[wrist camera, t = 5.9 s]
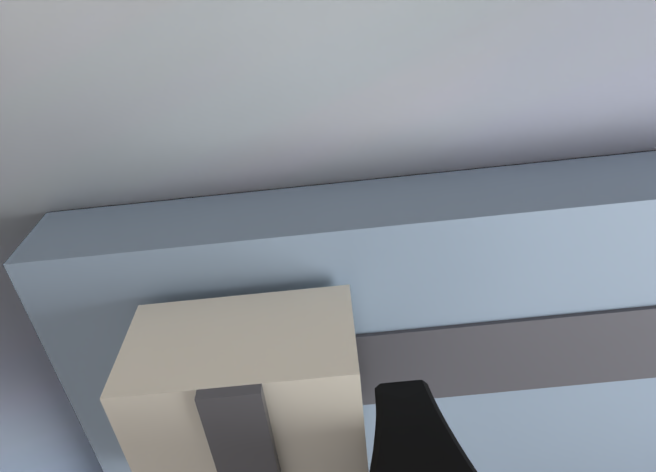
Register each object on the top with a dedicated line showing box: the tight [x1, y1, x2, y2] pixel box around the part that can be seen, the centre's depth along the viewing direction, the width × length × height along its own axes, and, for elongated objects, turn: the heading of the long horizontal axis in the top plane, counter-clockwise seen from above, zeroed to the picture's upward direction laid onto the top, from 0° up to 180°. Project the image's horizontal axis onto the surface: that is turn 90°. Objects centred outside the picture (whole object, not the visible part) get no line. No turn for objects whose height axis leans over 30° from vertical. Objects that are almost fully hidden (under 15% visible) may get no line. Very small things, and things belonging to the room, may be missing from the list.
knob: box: [100, 285, 369, 472], centre depth 11 cm, size 4×5×2 cm
